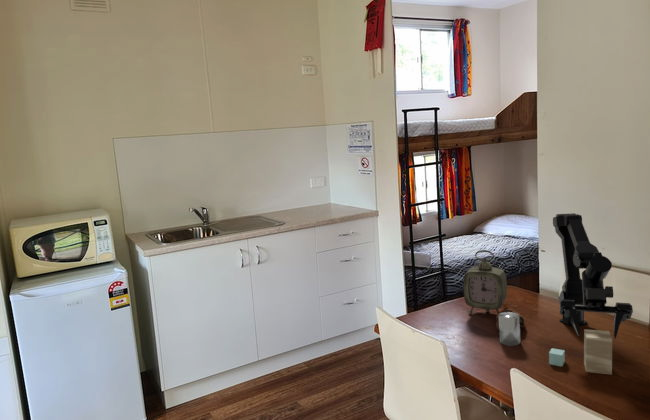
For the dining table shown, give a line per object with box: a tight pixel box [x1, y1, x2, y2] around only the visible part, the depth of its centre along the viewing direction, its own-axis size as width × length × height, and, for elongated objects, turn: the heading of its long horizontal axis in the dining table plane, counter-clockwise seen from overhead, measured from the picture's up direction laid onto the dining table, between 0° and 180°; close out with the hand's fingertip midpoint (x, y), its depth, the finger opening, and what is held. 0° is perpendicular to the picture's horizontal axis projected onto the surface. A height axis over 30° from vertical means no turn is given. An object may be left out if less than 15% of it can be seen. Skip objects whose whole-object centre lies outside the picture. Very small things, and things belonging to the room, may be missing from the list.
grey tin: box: [498, 312, 521, 347], centre depth 163 cm, size 6×6×9 cm
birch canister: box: [583, 329, 613, 375], centre depth 141 cm, size 6×6×10 cm
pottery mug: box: [495, 307, 527, 331], centre depth 174 cm, size 12×10×8 cm
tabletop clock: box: [462, 249, 508, 316], centre depth 187 cm, size 14×9×25 cm, turn 58°
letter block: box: [548, 347, 566, 367], centre depth 147 cm, size 4×4×4 cm
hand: (596, 336), depth 142 cm, fingers open, 9 cm apart
